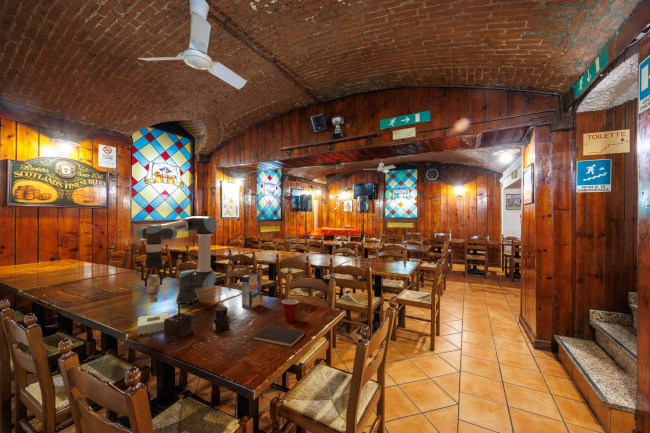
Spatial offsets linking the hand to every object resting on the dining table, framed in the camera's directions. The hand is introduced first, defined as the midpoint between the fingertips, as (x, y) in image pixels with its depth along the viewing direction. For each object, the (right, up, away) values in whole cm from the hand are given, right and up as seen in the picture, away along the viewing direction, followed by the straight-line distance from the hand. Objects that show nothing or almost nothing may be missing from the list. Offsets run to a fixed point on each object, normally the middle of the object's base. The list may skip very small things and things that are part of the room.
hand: (153, 291), depth 159 cm
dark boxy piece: (+20, -22, -6) cm, 30 cm away
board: (0, -21, 0) cm, 21 cm away
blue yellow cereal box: (+46, -22, +40) cm, 64 cm away
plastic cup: (+78, -22, +14) cm, 82 cm away
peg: (0, -6, 0) cm, 6 cm away
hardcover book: (+75, -23, -11) cm, 79 cm away
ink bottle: (+40, -22, -2) cm, 46 cm away
